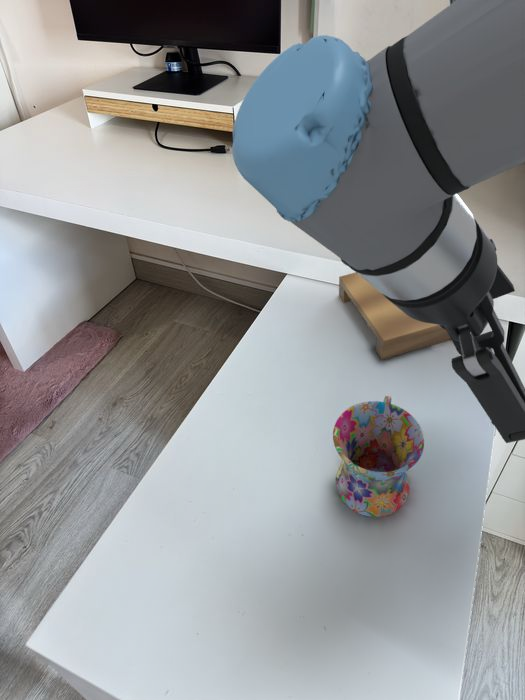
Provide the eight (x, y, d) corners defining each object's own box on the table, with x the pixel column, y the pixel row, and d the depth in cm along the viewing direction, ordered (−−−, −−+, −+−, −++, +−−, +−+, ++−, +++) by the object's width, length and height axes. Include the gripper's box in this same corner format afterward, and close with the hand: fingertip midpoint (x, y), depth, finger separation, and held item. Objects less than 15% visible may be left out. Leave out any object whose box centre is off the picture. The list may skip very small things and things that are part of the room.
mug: (405, 534, 56) (417, 485, 48) (323, 510, 58) (323, 461, 51) (420, 445, 63) (432, 392, 56) (347, 428, 66) (349, 375, 59)
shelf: (467, 334, 76) (472, 315, 73) (381, 360, 74) (384, 340, 71) (414, 274, 87) (417, 255, 84) (338, 295, 85) (339, 276, 82)
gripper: (351, 149, 41) (452, 263, 56) (400, 447, 30) (511, 492, 45) (438, 94, 37) (523, 232, 52) (534, 416, 26) (608, 477, 40)
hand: (518, 353), depth 48 cm, fingers open, 13 cm apart
